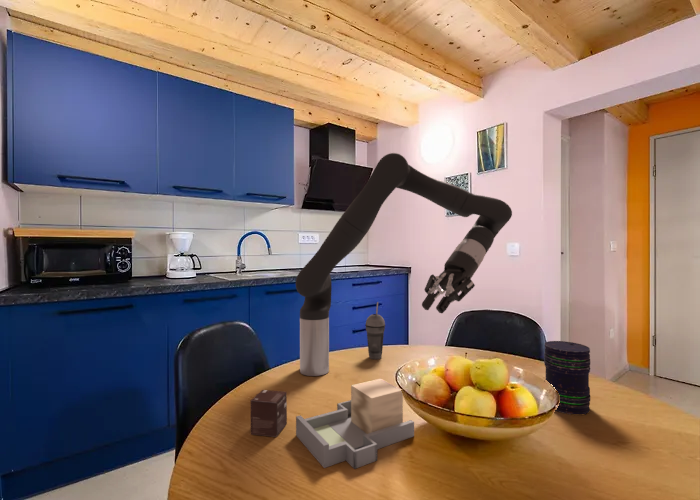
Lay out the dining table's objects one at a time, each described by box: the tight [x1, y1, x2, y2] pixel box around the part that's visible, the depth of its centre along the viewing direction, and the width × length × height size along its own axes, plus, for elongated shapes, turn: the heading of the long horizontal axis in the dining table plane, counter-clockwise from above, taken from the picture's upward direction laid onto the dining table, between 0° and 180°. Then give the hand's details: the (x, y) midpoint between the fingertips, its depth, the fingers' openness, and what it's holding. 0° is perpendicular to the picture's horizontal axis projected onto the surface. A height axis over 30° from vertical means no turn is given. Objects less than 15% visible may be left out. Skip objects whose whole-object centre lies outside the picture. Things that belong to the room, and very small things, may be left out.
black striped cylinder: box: [543, 340, 591, 415], centre depth 89 cm, size 10×10×15 cm
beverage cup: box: [364, 301, 386, 360], centre depth 129 cm, size 7×7×20 cm
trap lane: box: [295, 399, 415, 470], centre depth 75 cm, size 19×21×4 cm
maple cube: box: [350, 378, 404, 434], centre depth 78 cm, size 8×8×8 cm
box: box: [250, 389, 288, 438], centre depth 78 cm, size 6×6×7 cm
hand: (431, 309), depth 89 cm, fingers open, 4 cm apart
